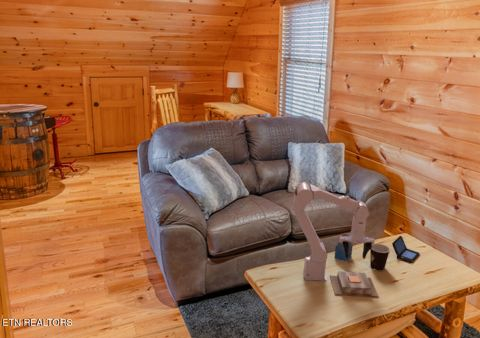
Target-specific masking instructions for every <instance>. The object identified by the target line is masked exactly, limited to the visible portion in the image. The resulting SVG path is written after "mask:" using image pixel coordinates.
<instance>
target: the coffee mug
mask: <svg viewBox="0 0 480 338" xmlns="http://www.w3.org/2000/svg"><path fill="white" fill-rule="evenodd" d="M371 245H372V248H371V249H370V250H369V253H370V254H369V255H370V257H369V258H370V261H369V263H370V265H369V266H370V268H371V270H374V271H381V272H382V271H384V270H385V267H386V265H387V262H388V261H387V260H388V257H389V255H390V251H391V248H390V247H388V245H385V244H382V243H374V244H371Z"/></svg>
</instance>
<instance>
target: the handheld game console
mask: <svg viewBox="0 0 480 338" xmlns="http://www.w3.org/2000/svg"><path fill="white" fill-rule="evenodd" d="M391 243H392V244H391V246H392V247H393V250H394V253H395V255H396V259H397V260H400V261H403V262H405V263H409V264H412V263H413V262H415V260H416V259H417V258H418V257H419V256H420V254H421V253H420V252H418V251H415V250H412V249H410V248H408V247H407V245H406V243H405V240H404V238H403V236H402V235H400V236H398V237H397V238H396V239H395V240H393V241H392V242H391Z"/></svg>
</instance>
